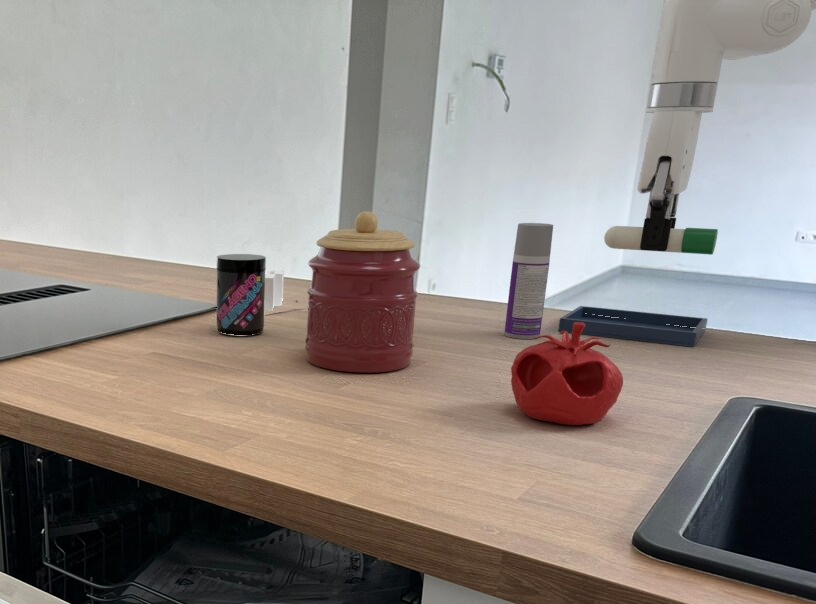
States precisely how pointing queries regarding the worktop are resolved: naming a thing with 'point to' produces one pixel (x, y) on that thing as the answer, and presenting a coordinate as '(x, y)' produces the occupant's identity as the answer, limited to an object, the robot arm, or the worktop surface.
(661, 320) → the pen tray
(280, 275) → the napkin holder
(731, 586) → the worktop surface
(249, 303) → the supplement container
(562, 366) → the red hollow tomato
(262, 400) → the worktop surface
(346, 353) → the kitchen canister
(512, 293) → the container
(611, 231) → the marker
